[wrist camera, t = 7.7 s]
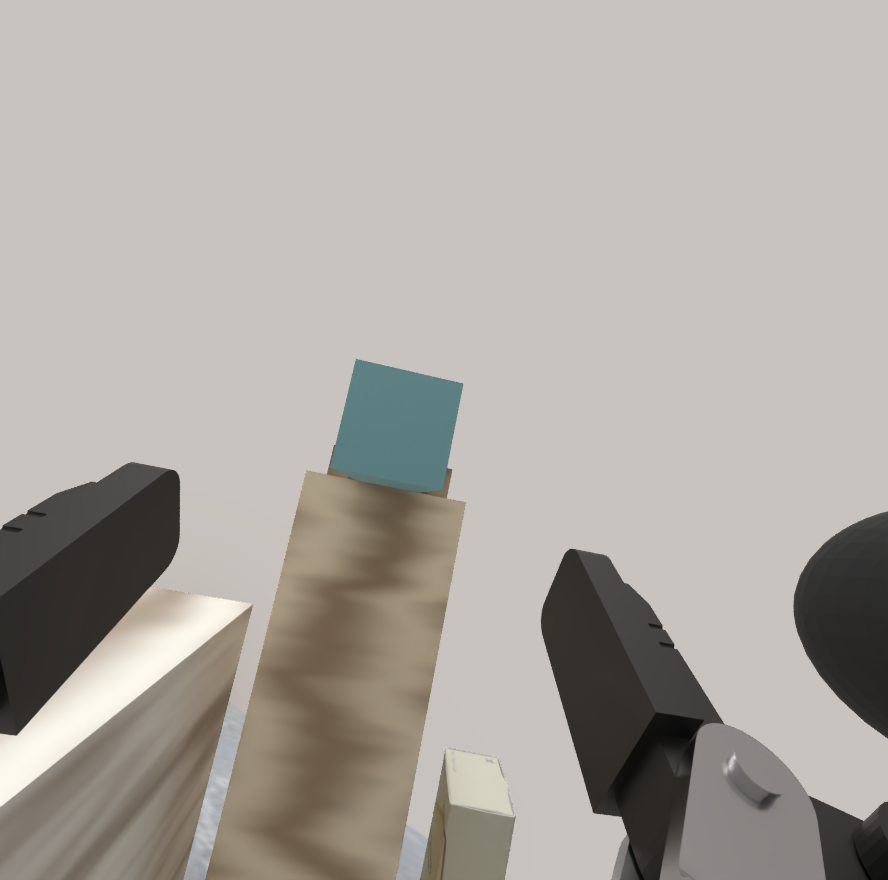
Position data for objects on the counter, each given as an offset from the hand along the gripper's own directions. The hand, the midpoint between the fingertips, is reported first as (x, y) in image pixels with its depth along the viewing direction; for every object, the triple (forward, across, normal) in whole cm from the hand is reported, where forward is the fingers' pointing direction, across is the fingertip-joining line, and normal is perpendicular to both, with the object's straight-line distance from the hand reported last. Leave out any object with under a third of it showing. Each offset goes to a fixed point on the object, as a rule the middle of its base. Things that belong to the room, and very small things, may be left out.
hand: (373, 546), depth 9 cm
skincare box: (+5, -10, +36) cm, 38 cm away
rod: (+14, 0, +6) cm, 15 cm away
